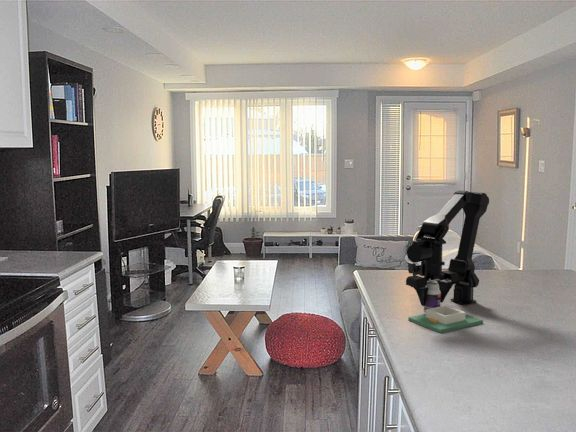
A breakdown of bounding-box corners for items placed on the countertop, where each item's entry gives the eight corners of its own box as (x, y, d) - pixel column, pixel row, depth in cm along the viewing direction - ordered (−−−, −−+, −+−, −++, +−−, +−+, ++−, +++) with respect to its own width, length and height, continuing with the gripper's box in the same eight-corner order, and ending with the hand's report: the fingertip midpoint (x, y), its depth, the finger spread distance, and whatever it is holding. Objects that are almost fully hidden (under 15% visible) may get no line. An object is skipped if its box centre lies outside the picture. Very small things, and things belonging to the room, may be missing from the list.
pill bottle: (440, 314, 179) (441, 285, 178) (423, 313, 180) (424, 285, 179) (439, 309, 184) (440, 281, 183) (423, 308, 185) (423, 281, 184)
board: (449, 311, 182) (449, 301, 181) (482, 323, 170) (483, 312, 169) (408, 320, 173) (408, 309, 173) (440, 333, 161) (440, 321, 161)
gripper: (436, 251, 191) (435, 294, 193) (395, 257, 182) (394, 302, 184) (460, 256, 182) (459, 302, 184) (418, 263, 173) (417, 310, 175)
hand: (432, 304), depth 182 cm, fingers open, 8 cm apart
